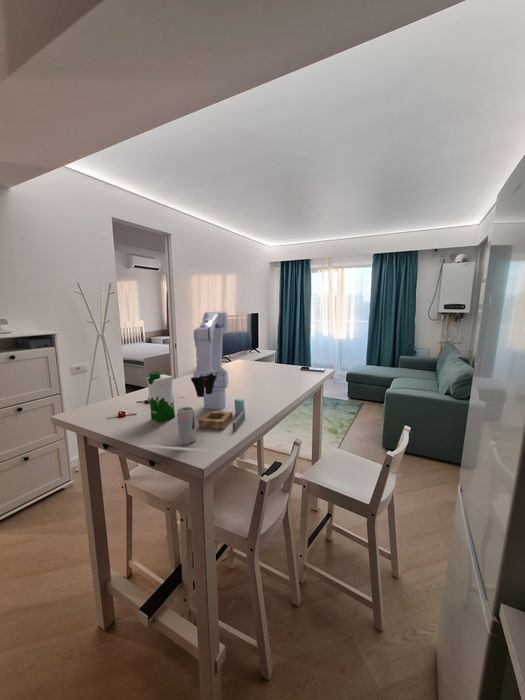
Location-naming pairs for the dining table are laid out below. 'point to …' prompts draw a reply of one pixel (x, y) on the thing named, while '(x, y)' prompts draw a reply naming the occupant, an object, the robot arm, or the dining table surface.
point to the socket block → (216, 420)
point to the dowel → (239, 406)
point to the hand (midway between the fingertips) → (204, 395)
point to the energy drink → (186, 425)
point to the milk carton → (161, 397)
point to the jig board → (238, 421)
